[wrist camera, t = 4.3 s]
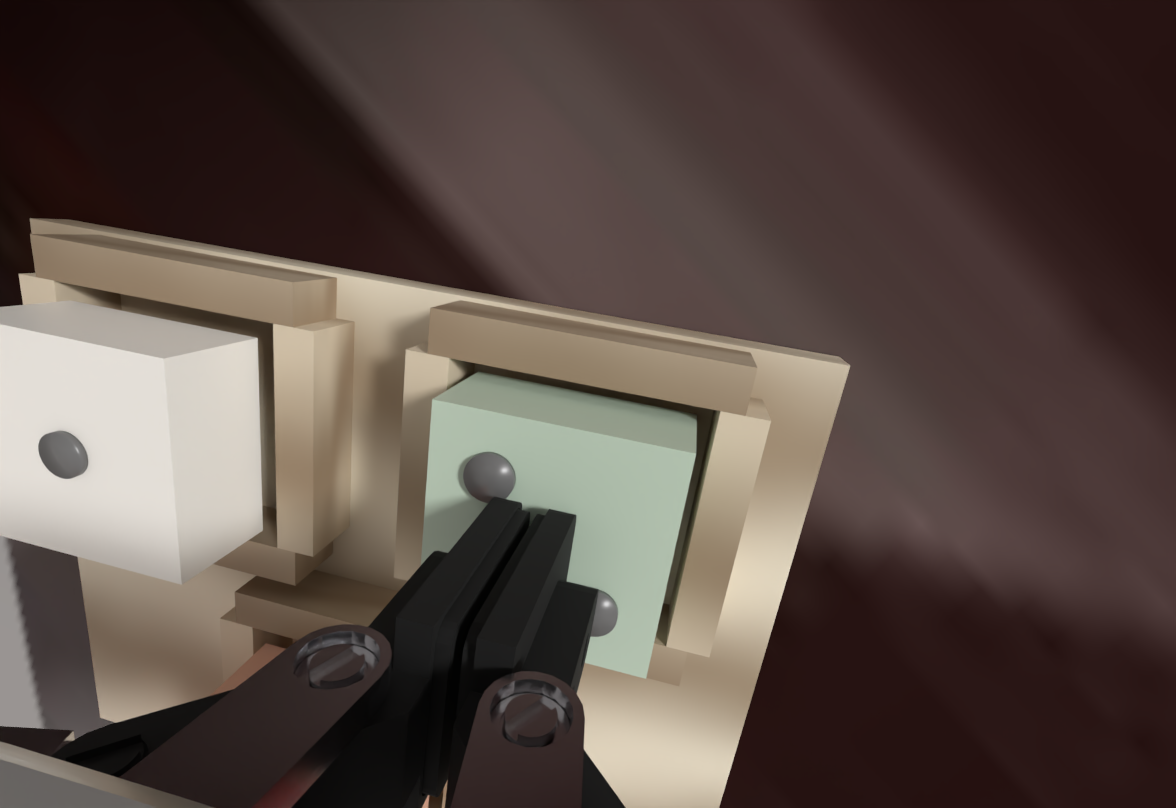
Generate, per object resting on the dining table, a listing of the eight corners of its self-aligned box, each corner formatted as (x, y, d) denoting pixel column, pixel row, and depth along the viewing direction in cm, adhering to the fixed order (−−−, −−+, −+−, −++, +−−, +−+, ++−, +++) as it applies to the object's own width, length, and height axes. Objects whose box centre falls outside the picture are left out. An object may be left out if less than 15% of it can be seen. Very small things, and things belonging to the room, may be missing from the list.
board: (69, 219, 16) (-45, 216, 14) (838, 356, 13) (871, 383, 11) (127, 696, 21) (52, 756, 19) (691, 868, 18) (689, 965, 16)
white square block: (70, 300, 14) (-66, 313, 11) (257, 337, 13) (156, 360, 11) (94, 488, 15) (-22, 535, 13) (262, 530, 14) (175, 589, 12)
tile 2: (478, 371, 13) (428, 401, 11) (696, 414, 12) (696, 456, 10) (460, 559, 15) (413, 623, 12) (654, 607, 14) (645, 684, 11)
